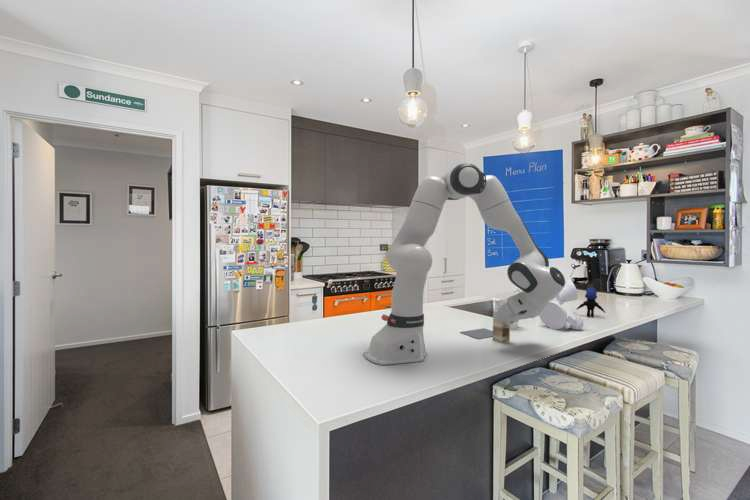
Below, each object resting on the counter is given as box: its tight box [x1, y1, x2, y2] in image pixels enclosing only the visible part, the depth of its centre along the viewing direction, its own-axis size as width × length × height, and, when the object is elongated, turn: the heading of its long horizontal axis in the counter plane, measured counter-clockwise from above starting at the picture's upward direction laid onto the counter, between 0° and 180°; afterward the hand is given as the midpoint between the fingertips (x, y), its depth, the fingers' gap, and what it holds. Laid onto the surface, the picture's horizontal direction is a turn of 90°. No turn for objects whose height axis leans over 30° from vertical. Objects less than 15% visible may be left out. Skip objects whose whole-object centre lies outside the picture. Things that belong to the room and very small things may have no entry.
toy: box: [576, 287, 606, 318], centre depth 193 cm, size 13×6×15 cm, turn 58°
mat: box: [459, 327, 493, 340], centre depth 159 cm, size 14×11×1 cm
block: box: [492, 309, 511, 344], centre depth 149 cm, size 4×5×12 cm
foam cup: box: [498, 296, 519, 330], centre depth 169 cm, size 10×9×13 cm
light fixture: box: [538, 279, 584, 331], centre depth 171 cm, size 25×16×18 cm
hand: (507, 323), depth 146 cm, fingers closed
